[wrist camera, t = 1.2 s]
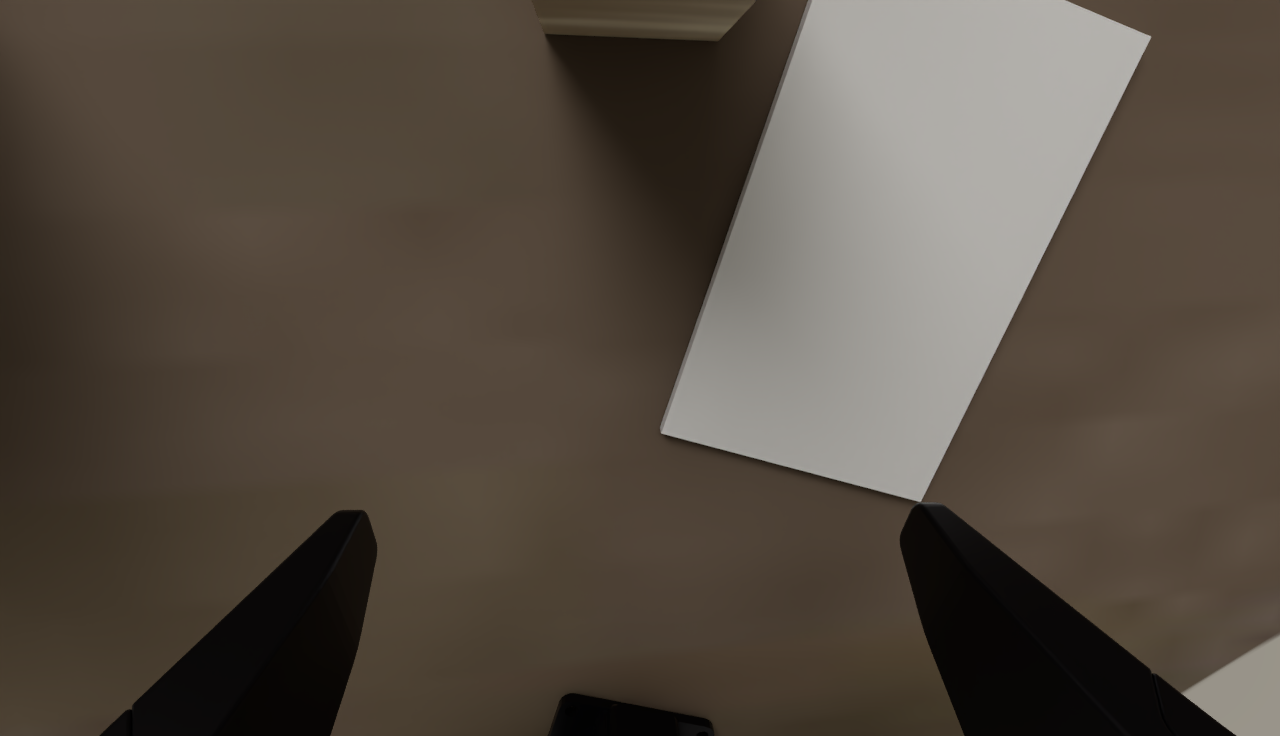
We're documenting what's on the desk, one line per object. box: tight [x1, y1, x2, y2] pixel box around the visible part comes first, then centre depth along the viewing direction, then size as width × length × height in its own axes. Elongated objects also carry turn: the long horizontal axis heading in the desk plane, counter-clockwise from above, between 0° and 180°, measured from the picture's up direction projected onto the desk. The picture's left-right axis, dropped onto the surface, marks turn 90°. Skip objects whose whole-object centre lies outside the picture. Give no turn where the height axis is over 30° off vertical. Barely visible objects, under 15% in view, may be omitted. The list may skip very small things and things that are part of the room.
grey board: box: [660, 0, 1151, 502], centre depth 20 cm, size 16×10×1 cm, turn 162°
